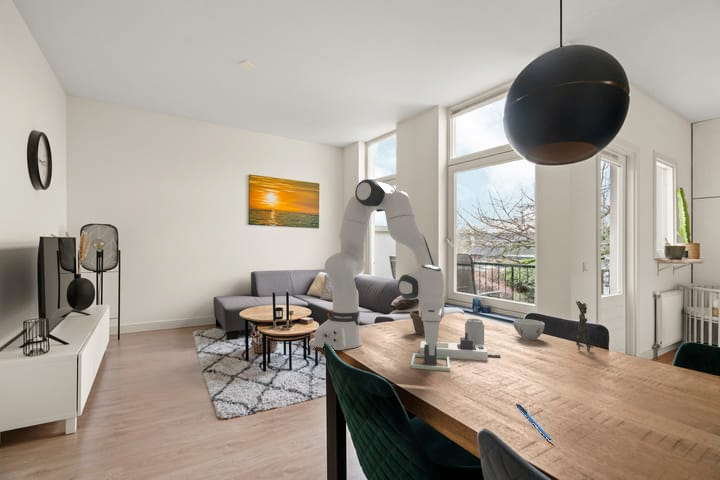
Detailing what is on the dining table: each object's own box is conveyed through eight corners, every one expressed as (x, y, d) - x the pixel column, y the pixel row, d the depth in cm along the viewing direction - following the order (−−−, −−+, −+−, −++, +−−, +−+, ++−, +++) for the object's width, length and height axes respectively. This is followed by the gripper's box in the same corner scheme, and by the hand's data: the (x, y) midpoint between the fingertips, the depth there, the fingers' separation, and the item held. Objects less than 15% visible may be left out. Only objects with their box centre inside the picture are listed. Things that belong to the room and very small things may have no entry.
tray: (410, 370, 120) (410, 364, 120) (413, 358, 132) (413, 353, 132) (450, 373, 117) (450, 367, 117) (449, 361, 130) (449, 355, 130)
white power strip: (420, 358, 133) (420, 345, 133) (421, 350, 142) (421, 339, 142) (502, 364, 127) (502, 351, 127) (498, 356, 136) (498, 344, 136)
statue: (596, 354, 139) (596, 302, 139) (577, 352, 141) (577, 301, 141) (592, 350, 143) (592, 301, 143) (574, 349, 145) (574, 300, 145)
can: (481, 346, 148) (481, 318, 148) (486, 352, 140) (486, 322, 140) (463, 346, 148) (463, 317, 149) (466, 351, 141) (466, 321, 141)
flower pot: (409, 335, 165) (409, 314, 165) (410, 330, 176) (410, 309, 176) (434, 337, 163) (434, 315, 163) (433, 331, 174) (433, 310, 174)
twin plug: (460, 356, 132) (461, 333, 132) (460, 353, 136) (460, 331, 136) (472, 357, 131) (472, 334, 131) (471, 353, 135) (471, 331, 135)
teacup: (551, 341, 157) (551, 323, 157) (530, 344, 152) (530, 325, 152) (523, 333, 171) (523, 316, 171) (503, 335, 166) (503, 318, 166)
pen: (518, 406, 95) (518, 402, 95) (556, 447, 76) (556, 442, 76) (515, 406, 95) (515, 401, 95) (551, 447, 76) (552, 441, 76)
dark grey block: (424, 365, 123) (424, 347, 123) (424, 361, 127) (424, 343, 127) (436, 365, 122) (436, 348, 122) (436, 361, 126) (436, 344, 126)
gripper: (423, 306, 136) (423, 342, 136) (421, 316, 116) (421, 359, 116) (440, 306, 134) (440, 343, 134) (441, 317, 114) (441, 360, 114)
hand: (432, 350), depth 125 cm, fingers open, 8 cm apart
